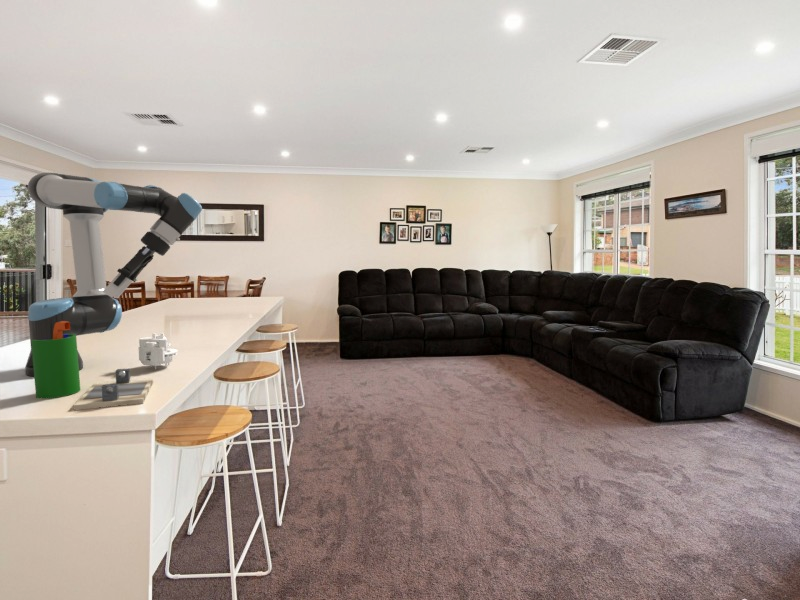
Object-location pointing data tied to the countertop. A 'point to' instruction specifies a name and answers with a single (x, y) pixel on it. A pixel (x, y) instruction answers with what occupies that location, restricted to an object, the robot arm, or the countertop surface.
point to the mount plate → (127, 392)
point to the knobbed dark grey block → (110, 392)
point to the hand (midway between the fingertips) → (110, 295)
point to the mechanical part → (155, 350)
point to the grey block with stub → (122, 376)
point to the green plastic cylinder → (56, 364)
